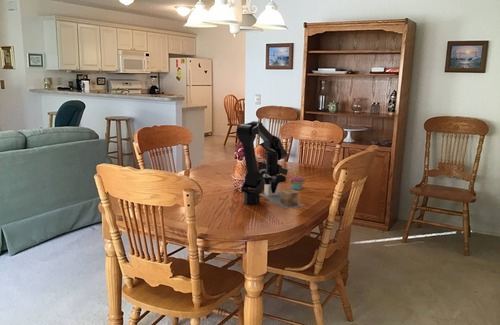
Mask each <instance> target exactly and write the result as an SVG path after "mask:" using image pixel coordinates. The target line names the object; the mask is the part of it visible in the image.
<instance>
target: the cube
mask: <svg viewBox="0 0 500 325" xmlns="http://www.w3.org/2000/svg"><path fill="white" fill-rule="evenodd" d="M280 193H281V200H280V203H282V204H284V205H286V206H292V205H298V202H299V192H298V191H297V190H295V189H292V188H291V189H283V190H280Z"/></svg>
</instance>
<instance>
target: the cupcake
mask: <svg viewBox="0 0 500 325" xmlns="http://www.w3.org/2000/svg"><path fill="white" fill-rule="evenodd" d="M288 182H289V183H290V185H291V189H292V190H294V191H297V190H298V191H299V190H302V187H303V185H304V184H305V183H306V180H305V178H304V177H303V176H302V175H301V176H300V175H297V174H296V169H295V168H293V176H291V177H290V178H289V180H288Z"/></svg>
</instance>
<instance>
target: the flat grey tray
mask: <svg viewBox="0 0 500 325" xmlns="http://www.w3.org/2000/svg"><path fill="white" fill-rule="evenodd" d="M279 186H280V185H279V184H278V185H277V188H276V190H275V193H272V190H271V186H270V184H266V185H265V184H264V185H263V187H264V191H263V193H260V194H259V195H260V197H261V196H262V197H263V198H265V199H267V200H268V201H271V202H272V203H275V204H276V205H278V206H280V207H282V208H284V209H291V208H298V207H304V206H305V207H306V205H305V204H304V203H302V202H299V201H298V205H292V206H286V205H284V204H282V203H280V200H281V192H279V188H280V187H279Z"/></svg>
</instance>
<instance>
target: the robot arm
mask: <svg viewBox="0 0 500 325" xmlns="http://www.w3.org/2000/svg"><path fill="white" fill-rule="evenodd" d="M235 131H236V135H237V139H238V141H239V142H240V143H241V145H242V148H243V154H244V159H245V160H244V161H245V167H246V175H244V182H243V183H242V186H241V188H240V191H241V193H244V197H243V198H244V200H243V202H244V203H243V204H244V205H245V206H246V207H247V208H249V207H248V206H256V205H258V204H260V200H261V199H260V197H261V195H260V194H263V193H262V192H263V187H264V186H265V185H266V184H270V186H271V190H272V193H275V190H276V188H277V185H279V184H280V183H286V182H287V177H286V176H287V175H288V171H289V169H286V168H283V166H282V164H279V161H282V160H284V159H286V158H287V156H288V152H287V150H286V149H285V146H284V145H283V144H282V143H283V142H281V139H280V137H278V136H276V135H274V134H272V133H271V132H270V131H269V130H268V129H267V128H266V126H264V124H263V122H261V121H256V120H252V121H250V122H246V123H242V124H239V125H238V126H237V127H236V130H235ZM257 136H259V138H260V139H261V140H263V145H264V147H265V149H266V151H264V154H265V155H266V163H264V166H265V167H266V168H262V169H261V168H260V169H259V170H258V164H257V156H256V151H255V143H254V142H255V140H256V138H257Z"/></svg>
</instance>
